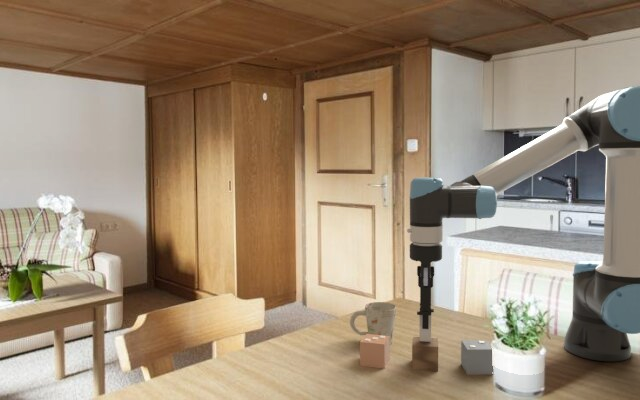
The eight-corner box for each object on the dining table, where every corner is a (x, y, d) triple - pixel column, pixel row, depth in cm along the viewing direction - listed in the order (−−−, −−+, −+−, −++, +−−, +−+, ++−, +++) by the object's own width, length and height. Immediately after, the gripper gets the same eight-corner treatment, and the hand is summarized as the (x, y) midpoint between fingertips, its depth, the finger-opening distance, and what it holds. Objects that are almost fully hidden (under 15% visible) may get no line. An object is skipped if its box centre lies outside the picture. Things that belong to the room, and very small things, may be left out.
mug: (395, 348, 139) (395, 311, 138) (347, 345, 142) (347, 309, 141) (396, 337, 147) (397, 302, 146) (351, 335, 150) (351, 300, 149)
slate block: (486, 364, 129) (486, 339, 128) (493, 374, 123) (493, 348, 122) (461, 364, 129) (461, 339, 128) (467, 374, 123) (467, 348, 122)
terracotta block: (389, 359, 132) (389, 335, 132) (384, 368, 127) (384, 343, 126) (366, 356, 134) (366, 332, 134) (360, 365, 129) (360, 340, 128)
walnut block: (437, 362, 130) (437, 338, 130) (438, 371, 125) (438, 347, 124) (412, 360, 132) (412, 336, 131) (412, 370, 126) (412, 345, 125)
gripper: (410, 238, 133) (410, 330, 135) (408, 247, 120) (408, 349, 122) (441, 238, 131) (440, 332, 133) (442, 248, 118) (442, 351, 120)
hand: (425, 340), depth 128 cm, fingers closed
